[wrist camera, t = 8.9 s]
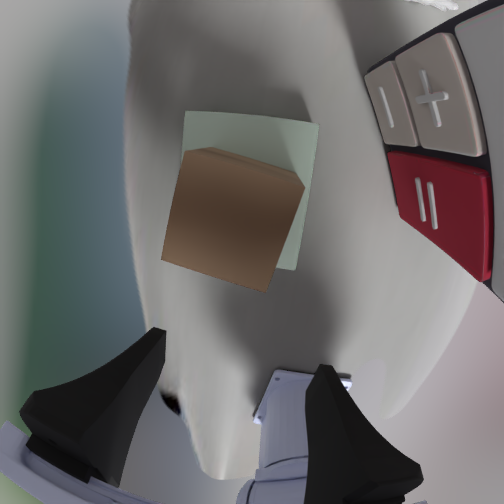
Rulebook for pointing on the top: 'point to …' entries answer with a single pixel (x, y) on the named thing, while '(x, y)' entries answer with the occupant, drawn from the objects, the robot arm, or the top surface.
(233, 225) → the walnut cube
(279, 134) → the block
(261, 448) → the robot arm
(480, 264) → the calculator
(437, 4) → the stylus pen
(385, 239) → the top surface
